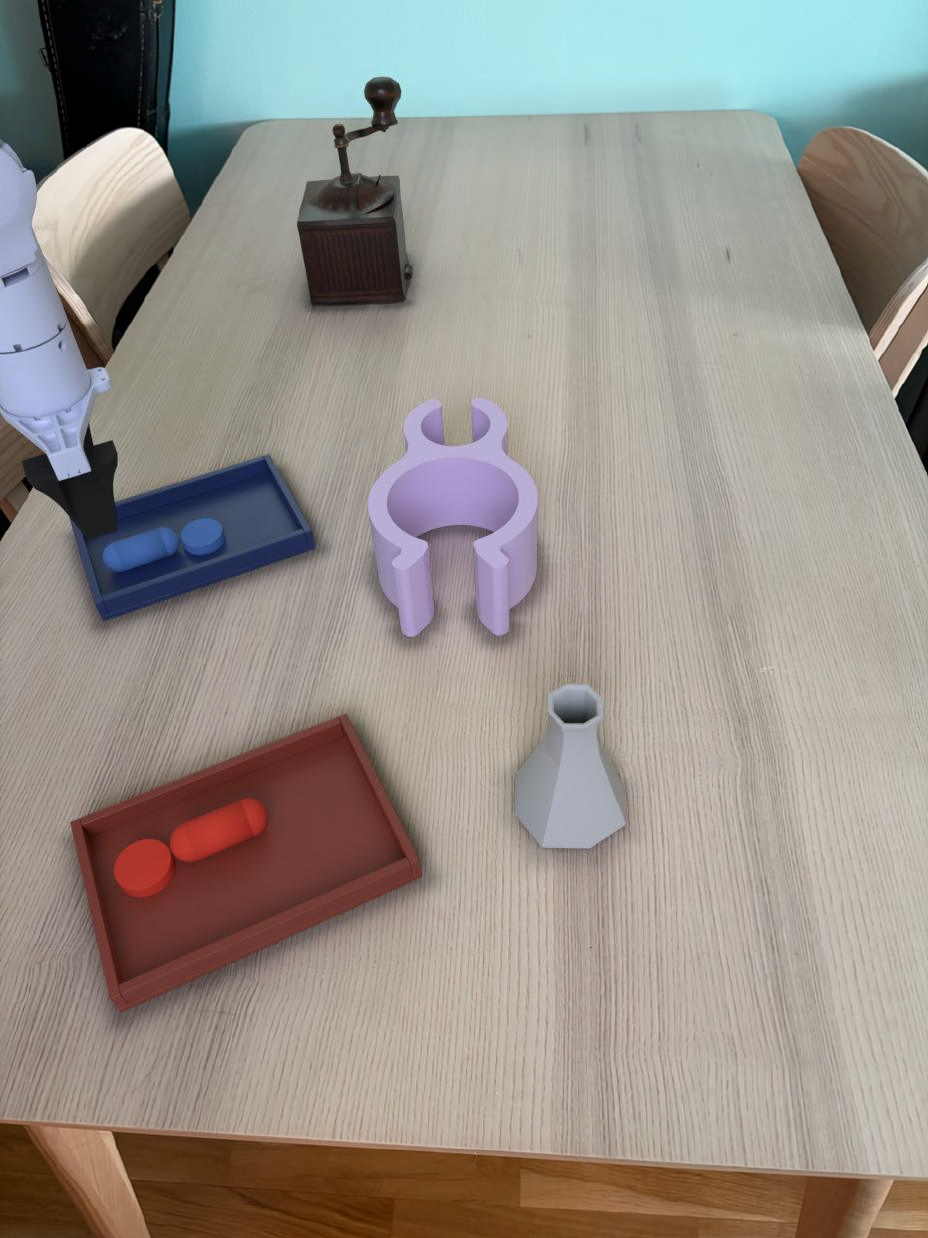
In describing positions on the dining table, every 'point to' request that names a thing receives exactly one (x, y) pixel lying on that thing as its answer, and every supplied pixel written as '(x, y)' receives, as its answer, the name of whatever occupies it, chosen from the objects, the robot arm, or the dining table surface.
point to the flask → (570, 776)
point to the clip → (455, 515)
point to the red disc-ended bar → (187, 846)
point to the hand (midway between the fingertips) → (92, 500)
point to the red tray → (244, 860)
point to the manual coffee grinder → (356, 222)
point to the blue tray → (233, 496)
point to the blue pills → (163, 544)
